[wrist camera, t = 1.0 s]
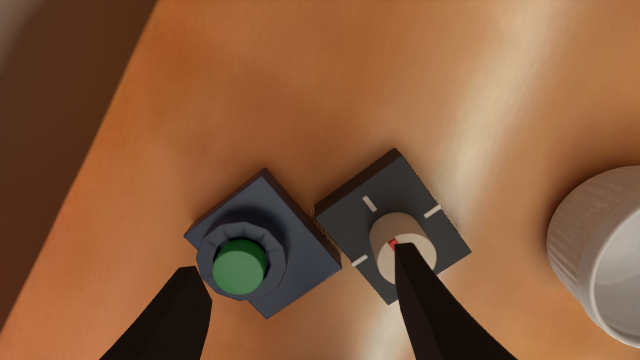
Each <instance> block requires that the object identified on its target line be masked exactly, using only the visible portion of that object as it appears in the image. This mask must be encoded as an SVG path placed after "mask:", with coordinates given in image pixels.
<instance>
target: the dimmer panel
mask: <svg viewBox="0 0 640 360" xmlns="http://www.w3.org/2000/svg"><path fill="white" fill-rule="evenodd" d="M441 208H442V207H441V206H440V204H437V203H436V201H435V200H434V198H433V197H432V196H431V194H430V193H429V191H428V190H427V189H426V187H425V186H424V184H423V183H422V182H421V180H420V179H419V177H418V176H417V175H416V173H415V172H414V171H413V169H412V168H411V166H410V165H409V164H408V162H407V161H406V159H405V158H404V157H403V155H402V154H401V153H400V152H399V151H398V150H397V149H396V148H394V149H392V150H391V151H389V152H388V153H387V154H385V155H384V156H383V157H381V158H380V159H378V160H377V161H376V162H374V163H373V164H371V165H370V166H369V167H367V168H366V169H365V170H363V171H362V172H360V173H359V174H358V175H356V176H355V177H354V178H352V179H351V180H349V181H348V182H347V183H345V184H344V185H343V186H341V187H340V188H338V189H337V190H336V191H334V192H333V193H332V194H330V195H329V196H327V197H326V198H325V199H323V200H322V201H321V202H319V203H318V204H316V205H315V219H316V221H317V222H318V223H319V224H320V225H321V226H322V228H323V229H324V230H325V231H326V232H327V233H328V235H329V236H330V237H331V238H332V239H333V241H334V242H335V243H336V244H337V245H338V246H339V248H340V249H341V250H342V251H343V252H344V254H345V255H346V256H347V257H348V258H349V259H350V261H351V262H352V263H351V265H352V266H353V267H355V266H356V268H357V269H358V270H359V271H360V272H361V274H362V275H363V276H364V277H365V278H366V279H367V281H368V282H369V283H370V284H371V285H372V287H373V288H374V289H375V290H376V291H377V292H378V294H379V295H380V296H381V297H382V298H383V300H384V301H385V302H386V303H387V304H388V305H390V304H391V303H393V302H395V301H396V300H398V295H397V290H396V285H395V284H393V283H391V282H389V281H387V280H386V279H385V278H384V277H383V276H382V275H381V273H380V271H379V269H378V266H377V263H376V260H375V257H374V254H373V251H372V248H371V244H370V240H369V235H370V230H371V228H372V226H373V224H374V223H375V222H376V221H377V220H378V219H379V218H380V217H382V216H384V215H386V214H389V213H394V212H401V213H405V214H408V215H410V216H412V217H413V218H414V219H415V220H416V221H417V222H418V224H419V225H420V227H421V228H422V230H423V231H424V233H425V234H426V235H427V237H428V238H429V240H430V241H431V243H432V244H433V246H434V248H435V251H436V264H435V267H434V269H433V272H434V273H435V274H436V275H437V274H439V273H440V272H442V271H443V270H445V269H446V268H448V267H450V266H451V265H453V264H454V263H456V262H457V261H459V260H461V259H462V258H464V257H465V256H467V255H468V254H470V253H472V251H471V250H470V249H469V247H468V246H467V245H466V243H465V242H464V240H463V239H462V238H461V236H460V235H459V233H458V232H457V231H456V229H455V228H454V226H453V225H452V224H451V222H450V221H449V219H448V218H447V217H446V215H445V214H444V212H443V211H442V210H441Z"/></svg>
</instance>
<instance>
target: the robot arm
mask: <svg viewBox="0 0 640 360" xmlns="http://www.w3.org/2000/svg"><path fill="white" fill-rule="evenodd" d="M394 256H395V285H396V290H397V295H398V300H399V305H400V310H401V313H402V316H403V320H404V323H405V326H406V329H407V332H408V335H409V338H410V342H411V345H412V348H413V351H414V354H415V357H416V360H518V359H517V358H515V357H514V356H513V355H512V354H511V353H509V352H508V351H507V350H506V349H505V348H504V347H503V346H502V345H501V344H500V343H498V342H497V341H496V340H495V339H494V338H493V337H492V336H491V335H490V334H489V333H488V332H487V331H486V330H485V329H484V328H483V327H482V326H481V325H480V324H479V323H478V322H477V321H476V320H475V319H474V318H473V317H472V316H471V315H470V314H469V313H468V312H467V311H466V310H465V309H464V308H463V306H462V305H461V304H460V303H459V302H458V301H457V300H456V299H455V297H454V296H453V295H452V294H451V293H450V292H449V290H448V289H447V288H446V287H445V285H444V284H443V283H442V282H441V281H440V279H439V278H438V277H437V276H436V274H435V273H434V272H433V270H432V269H431V268H430V266H429V265H428V264H427V262H426V261H425V259H424V258H423V256H422V255H421V253H420V252H419V250H418V249H417V247H416V245H415V244H414V243H412V242H409V243H400V244H394ZM211 308H212V300H211V297H210V295H209V293H208V291H207V289H206V287H205V285H204V283H203V281H202V279H201V277H200V275H199V272H198V270H197V268H196V266H189V267H180V268H178V270H177V271H176V272H175V273H174V274H173V276H172V277H171V278H170V279H169V280H168V282H167V283H166V284H165V285H164V287H163V288H162V289H161V290H160V291H159V293H158V294H157V295H156V296H155V298H154V299H153V300H152V301H151V302H150V304H149V305H148V306H147V307H146V308H145V310H144V311H143V312H142V313H141V314H140V316H139V317H138V318H137V319H136V320H135V321H134V323H133V324H132V325H131V326H130V327H129V328H128V329H127V330H126V331H125V333H124V334H123V335H122V336H121V337H120V338H119V339H118V340H117V341H116V342H115V344H114V345H113V346H112V347H111V348H110V349H109V350H108V351H107V352H106V353H105V354H104V355H103V356H102V357H101V358H100V359H99V360H200V357H201V354H202V350H203V346H204V343H205V339H206V336H207V332H208V327H209V322H210V315H211Z"/></svg>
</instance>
